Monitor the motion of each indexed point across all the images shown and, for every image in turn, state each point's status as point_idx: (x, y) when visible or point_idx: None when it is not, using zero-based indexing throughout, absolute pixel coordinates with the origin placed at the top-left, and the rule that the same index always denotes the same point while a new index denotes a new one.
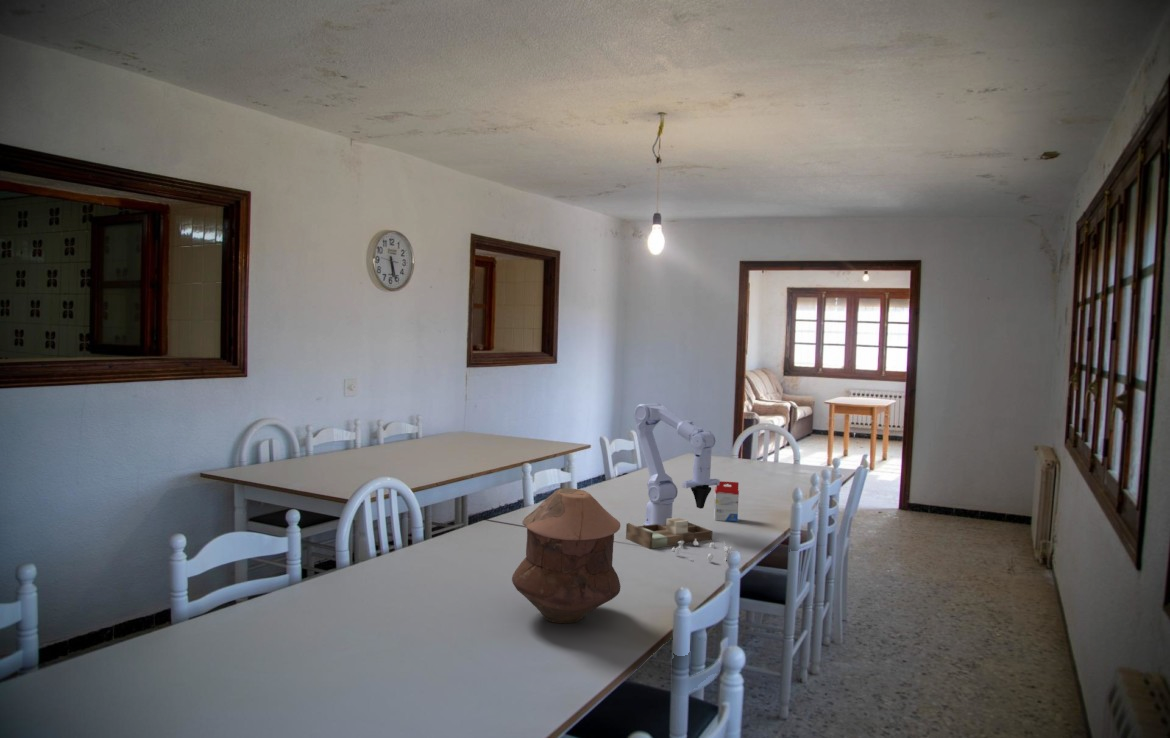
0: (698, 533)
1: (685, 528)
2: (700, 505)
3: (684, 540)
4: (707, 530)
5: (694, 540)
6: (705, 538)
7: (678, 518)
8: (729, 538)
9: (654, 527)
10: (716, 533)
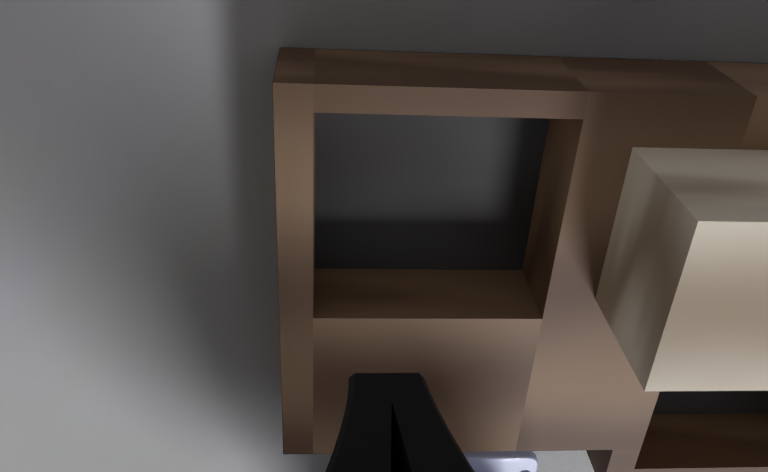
0: (512, 87)
1: (690, 173)
2: (437, 410)
3: (702, 72)
4: (313, 134)
5: (549, 63)
6: (386, 58)
7: (692, 355)
8: (17, 7)
9: (655, 451)
10: (54, 226)
